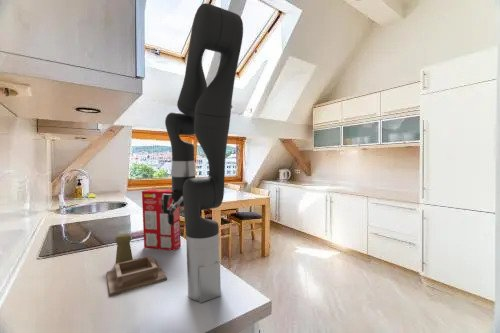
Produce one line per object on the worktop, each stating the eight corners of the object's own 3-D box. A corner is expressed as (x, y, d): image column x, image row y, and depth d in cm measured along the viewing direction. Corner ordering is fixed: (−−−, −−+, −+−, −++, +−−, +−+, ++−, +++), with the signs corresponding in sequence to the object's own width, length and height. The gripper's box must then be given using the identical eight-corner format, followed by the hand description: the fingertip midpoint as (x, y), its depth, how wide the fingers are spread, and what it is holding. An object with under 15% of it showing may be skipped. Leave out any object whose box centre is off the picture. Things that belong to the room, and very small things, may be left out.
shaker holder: (167, 279, 79) (166, 267, 79) (109, 295, 70) (109, 282, 70) (155, 262, 92) (155, 252, 92) (106, 274, 83) (106, 263, 83)
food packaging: (180, 245, 109) (178, 189, 108) (174, 250, 104) (172, 191, 103) (151, 243, 112) (149, 189, 111) (144, 247, 107) (141, 191, 106)
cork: (111, 265, 90) (110, 235, 90) (126, 258, 96) (125, 231, 95) (122, 268, 88) (120, 238, 87) (136, 261, 93) (135, 233, 92)
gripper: (164, 177, 73) (166, 230, 74) (208, 174, 81) (209, 222, 83) (158, 174, 79) (159, 223, 81) (199, 172, 87) (199, 216, 89)
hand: (184, 222), depth 82 cm, fingers open, 8 cm apart
